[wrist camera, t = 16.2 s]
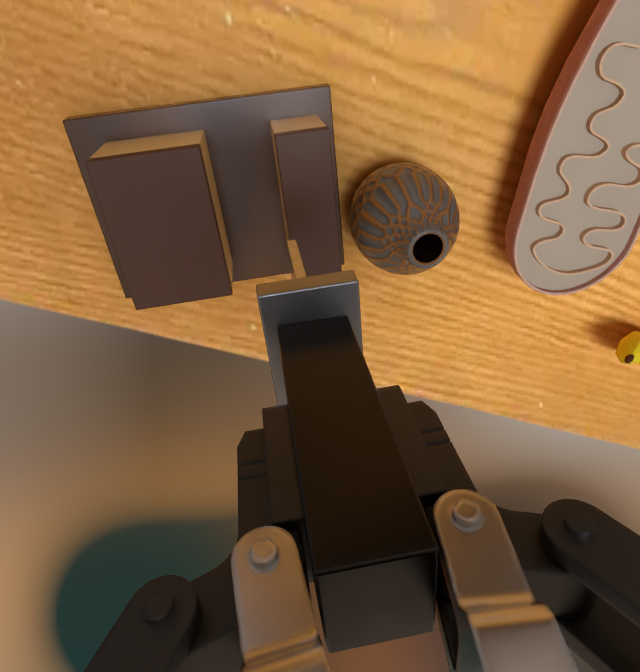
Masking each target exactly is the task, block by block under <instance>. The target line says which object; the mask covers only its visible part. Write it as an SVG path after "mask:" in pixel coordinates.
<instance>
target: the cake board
mask: <svg viewBox="0 0 640 672" xmlns="http://www.w3.org/2000/svg"><path fill="white" fill-rule="evenodd" d="M313 114H316V115H317V116H318V117H319V118H320V119H321V120H322V121H323V122H324V124H325V125H326V126H327V127H328V128H329V129H330V140H331V152H332V164H333V176H334V187H335V199H336V211H337V222H338V234H339V246H340V258H341V265H343V264H344V254H343V242H342V229H341V217H340V204H339V192H338V180H337V167H336V155H335V142H334V130H333V117H332V105H331V93H330V86H329V85H328V84H320V85H313V86H305V87H297V88H290V89H282V90H274V91H267V92H259V93H251V94H244V95H236V96H228V97H221V98H213V99H205V100H198V101H190V102H182V103H175V104H167V105H159V106H152V107H144V108H136V109H129V110H121V111H113V112H106V113H98V114H90V115H83V116H75V117H68V118H66V119H64V120H63V124H64V127H65V129H66V132H67V135H68V138H69V140H70V143H71V146H72V149H73V152H74V154H75V157H76V160H77V163H78V166H79V168H80V171H81V174H82V177H83V180H84V182H85V185H86V188H87V191H88V193H89V196H90V199H91V202H92V205H93V207H94V210H95V213H96V216H97V219H98V221H99V224H100V227H101V230H102V233H103V235H104V238H105V241H106V244H107V247H108V249H109V252H110V255H111V258H112V260H113V263H114V266H115V269H116V272H117V274H118V277H119V280H120V283H121V286H122V288H123V291H124V294H125V297H126V298H132V296H131V293H130V290H129V288H128V285H127V282H126V279H125V276H124V273H123V271H122V268H121V265H120V262H119V259H118V256H117V253H116V251H115V248H114V245H113V242H112V239H111V236H110V233H109V231H108V228H107V225H106V222H105V219H104V216H103V213H102V211H101V208H100V205H99V202H98V199H97V196H96V193H95V191H94V188H93V185H92V182H91V179H90V176H89V174H88V171H87V168H86V165H85V161H86V160H88V159H89V158H90V157H91V156H92V155H93V154H94V153H95V152H96V151H97V150H98V149H99V148H100V147H101V146H102V145H104V144H105V143H106V142H113V141H120V140H128V139H135V138H142V137H150V136H157V135H165V134H172V133H180V132H187V131H195V130H202V129H203V130H204V132H205V136H206V141H207V146H208V150H209V155H210V160H211V164H212V169H213V174H214V178H215V183H216V188H217V192H218V197H219V202H220V206H221V211H222V216H223V220H224V225H225V230H226V234H227V239H228V244H229V248H230V253H231V257H232V262H233V265H232V282H234V281H241V280H247V279H254V278H260V277H267V276H273V275H280V274H286V273H291V271H290V264H289V257H288V251H287V244H286V241H287V239H286V232H285V225H284V218H283V212H282V205H281V198H280V191H279V184H278V178H277V171H276V164H275V157H274V150H273V143H272V137H271V130H270V123H269V122H270V120H276V119H284V118H291V117H299V116H306V115H313Z"/></svg>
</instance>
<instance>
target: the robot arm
mask: <svg viewBox="0 0 640 672" xmlns="http://www.w3.org/2000/svg"><path fill="white" fill-rule="evenodd" d="M377 392H378V394H379V397H380V399H381V402H382V404H383V407H384V410H385V412H386V415H387V417H388V420H389V422H390V425H391V427H392V430H393V432H394V435H395V438H396V440H397V443H398V445H399V448H400V450H401V453H402V455H403V458H404V461H405V463H406V466H407V468H408V471H409V473H410V476H411V478H412V481H413V483H414V486H415V489H416V491H417V494H418V496H419V499H420V501H421V504H422V506H423V509H424V512H425V514H426V517H427V519H428V522H429V524H430V527H431V529H432V532H433V534H434V537H435V540H436V542H437V545H438V547H439V555H438V573H437V590H436V608H435V611H436V615H437V620H438V624H439V628H440V632H441V636H442V641H443V645H444V649H445V653H446V657H447V662H448V666H449V670H450V672H578V669H577V667H576V665H575V662H574V660H573V658H572V655H571V654H570V651H569V648H571V649H572V650H573V651H574V652H575V653H576V654H578V656H580V657H581V658H582V659H583V660H584V661H585V662H586V663H587V664H589V665H590V666H591V667H592V668H593V669H594V670H595V671H596V672H640V536H639V535H638V534H636V533H635V532H633V531H632V530H630V529H629V528H627V527H625V526H624V525H622V524H620V523H619V522H618V521H616V520H614V519H613V518H612V517H610V516H608V515H607V514H605V513H604V512H602V511H601V510H599V509H598V508H596V507H594V506H592V505H590V504H588V503H586V502H582V501H579V500H574V499H562V500H558V501H555V502H552V503H551V504H549V505H548V506H547V507H546V508H545V510H544V512H543V514H537V513H528V512H518V511H511V510H507V509H503V508H500V507H498V506H495V505H494V504H493V502H491V500H489V499H488V498H487V497H485V496H484V495H482V494H480V493H479V492H478V491H477V490H476V488H475V487H474V485H473V483H472V481H471V479H470V477H469V475H468V473H467V471H466V470H465V467H464V466H463V464H462V462H461V460H460V458H459V456H458V454H457V452H456V450H455V448H454V447H453V444H452V443H451V442H450V439H449V437H448V435H447V433H446V431H445V430H444V428H443V425H442V423H441V421H440V419H439V418H438V416H437V414H436V412H435V411H434V410H432V409H431V408H430V407H429V406H427V405H426V404H425V403H424V402H422V401H417V402H411V403H407V401H406V399H405V397H404V395H403V393H402V390H401V388H400V387H399V386H398V385H395V386H390V387H384V388H378V389H377ZM262 414H263V425H264V426H263V427H264V428H263V429H257V430H252V431H246V432H245V433H244V435H243V437H242V439H241V441H240V443H239V445H238V448H237V456H238V457H237V458H238V459H237V460H238V519H239V520H238V525H239V532H238V540H237V543H236V545H235V547H234V549H233V551H232V553H231V554H230V555H229V557H228V558H227V559H226V560H225V561H224V562H223V563H222V564H220V565H219V566H218V567H217V568H215V569H213V570H212V571H210V572H208V573H206V574H204V575H202V576H200V577H199V578H197V579H194V580H193V581H191V582H189V581H188V580H186V579H185V578H182V577H180V576H176V575H167V576H162V577H158V578H156V579H154V580H151V581H150V582H148V583H147V584H145V585H144V586H143V587H141V588H140V589H139V590H138V591H137V592H136V593H135V594H134V596H133V597H132V598H131V600H130V601H129V603H128V604H127V606H126V607H125V609H124V610H123V612H122V613H121V615H120V616H119V618H118V620H117V621H116V623H115V624H114V626H113V627H112V629H111V630H110V632H109V634H108V635H107V637H106V638H105V640H104V641H103V643H102V644H101V646H100V647H99V649H98V650H97V652H96V653H95V655H94V657H93V658H92V660H91V661H90V663H89V664H88V666H87V667H86V669H85V670H84V672H329V669H328V664H327V660H326V656H325V652H324V648H323V645H322V642H321V639H320V636H319V632H318V628H317V625H316V620H315V616H314V612H313V608H312V602H311V596H310V588H309V583H311V582H314V578H313V573H312V566H311V559H310V553H309V546H308V539H307V532H306V525H305V519H304V512H303V505H302V498H301V491H300V485H299V478H298V471H297V464H296V457H295V451H294V444H293V437H292V430H291V423H290V417H289V410H288V404H285V405H279V406H274V407H268V408H263V409H262ZM568 647H569V648H568Z"/></svg>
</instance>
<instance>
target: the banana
mask: <svg viewBox="0 0 640 672" xmlns="http://www.w3.org/2000/svg"><path fill="white" fill-rule="evenodd" d="M616 355H617V357H618V359H619V361H620V362H621V363H624V364H632V363H639V364H640V332H637V331H633V332H631V333H630V334H628V335H627V336H625V337H624V338H622V339H621V340H620V342H619V345H618V347H617V350H616Z"/></svg>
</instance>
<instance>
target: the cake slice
mask: <svg viewBox="0 0 640 672" xmlns="http://www.w3.org/2000/svg"><path fill="white" fill-rule="evenodd" d="M269 123H270V130H271V137H272V143H273V150H274V157H275V164H276V171H277V178H278V184H279V191H280V198H281V205H282V212H283V218H284V225H285V232H286V239H287V241H290V240H296V242H297V246H298V249H299V253H300V256H301V259H302V263H303V266H304V270H305V273H306V277H309V276H316V275H322V274H329V273H335V272H341V271H342V269H341V258H340V246H339V234H338V222H337V211H336V199H335V187H334V176H333V164H332V152H331V140H330V129H329V128H328V127H327V126H326V125H325V124H324V122H323V121H322V120H321V119H320V118H319V117H318V116H317V115H316V114H313V115H306V116H299V117H291V118H284V119H276V120H270V122H269Z"/></svg>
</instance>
